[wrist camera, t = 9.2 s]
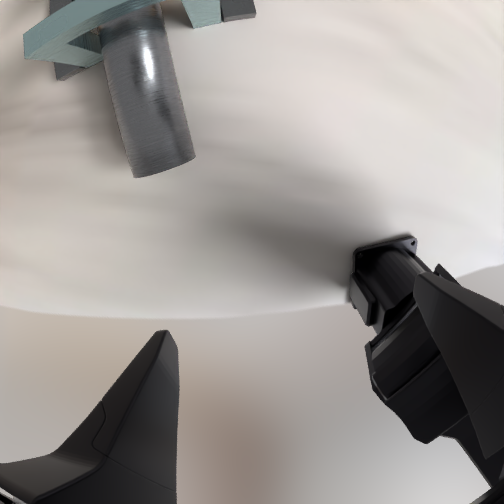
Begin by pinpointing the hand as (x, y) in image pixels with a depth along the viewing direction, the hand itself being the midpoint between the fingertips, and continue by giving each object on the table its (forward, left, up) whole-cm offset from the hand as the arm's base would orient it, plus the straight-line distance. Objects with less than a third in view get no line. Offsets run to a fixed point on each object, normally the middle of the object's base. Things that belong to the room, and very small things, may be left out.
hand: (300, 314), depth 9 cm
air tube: (+5, -13, -12) cm, 18 cm away
